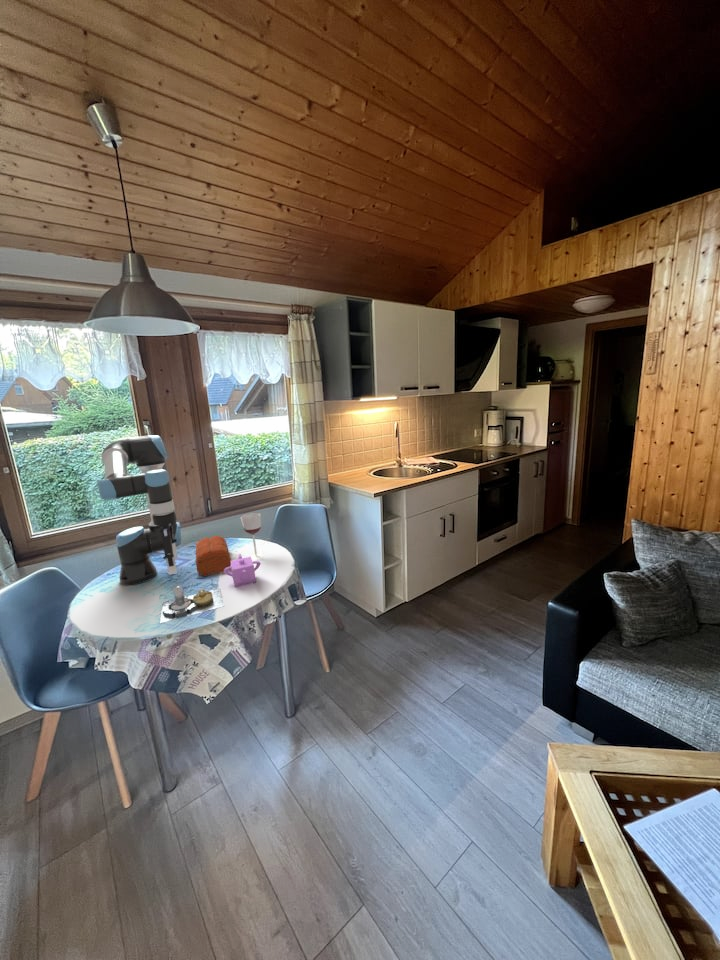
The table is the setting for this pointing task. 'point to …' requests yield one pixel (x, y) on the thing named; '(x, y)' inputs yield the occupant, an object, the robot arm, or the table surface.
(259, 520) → the wineglass
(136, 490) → the robot arm
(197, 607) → the carrier plate
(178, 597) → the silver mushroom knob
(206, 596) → the gold cymbal
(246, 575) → the teapot
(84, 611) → the table surface
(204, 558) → the bread
